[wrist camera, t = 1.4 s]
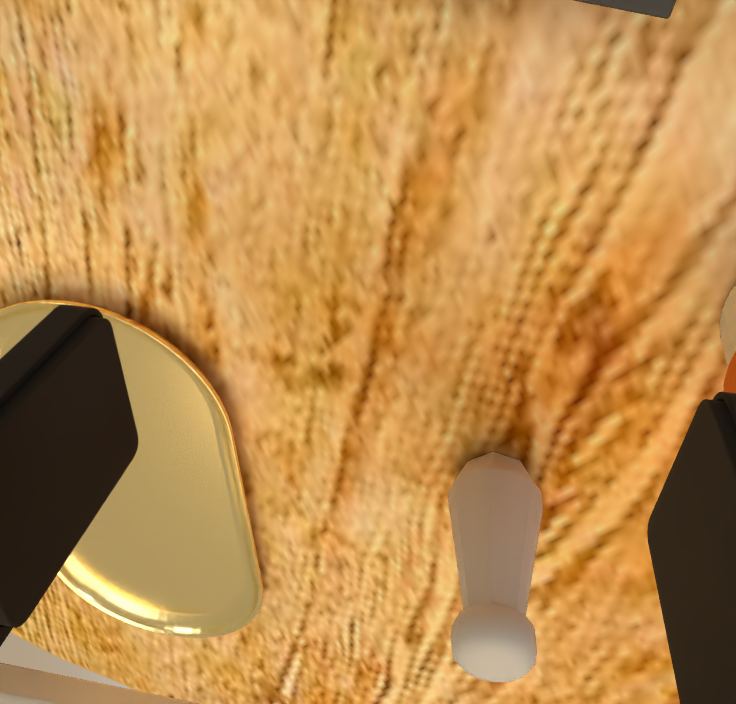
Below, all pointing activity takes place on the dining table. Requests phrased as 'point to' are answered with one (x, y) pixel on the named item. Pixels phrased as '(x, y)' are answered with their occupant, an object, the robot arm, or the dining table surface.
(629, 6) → the fryer panel
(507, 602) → the salt shaker
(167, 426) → the serving platter
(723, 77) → the dining table surface
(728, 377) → the reusable coffee cup
